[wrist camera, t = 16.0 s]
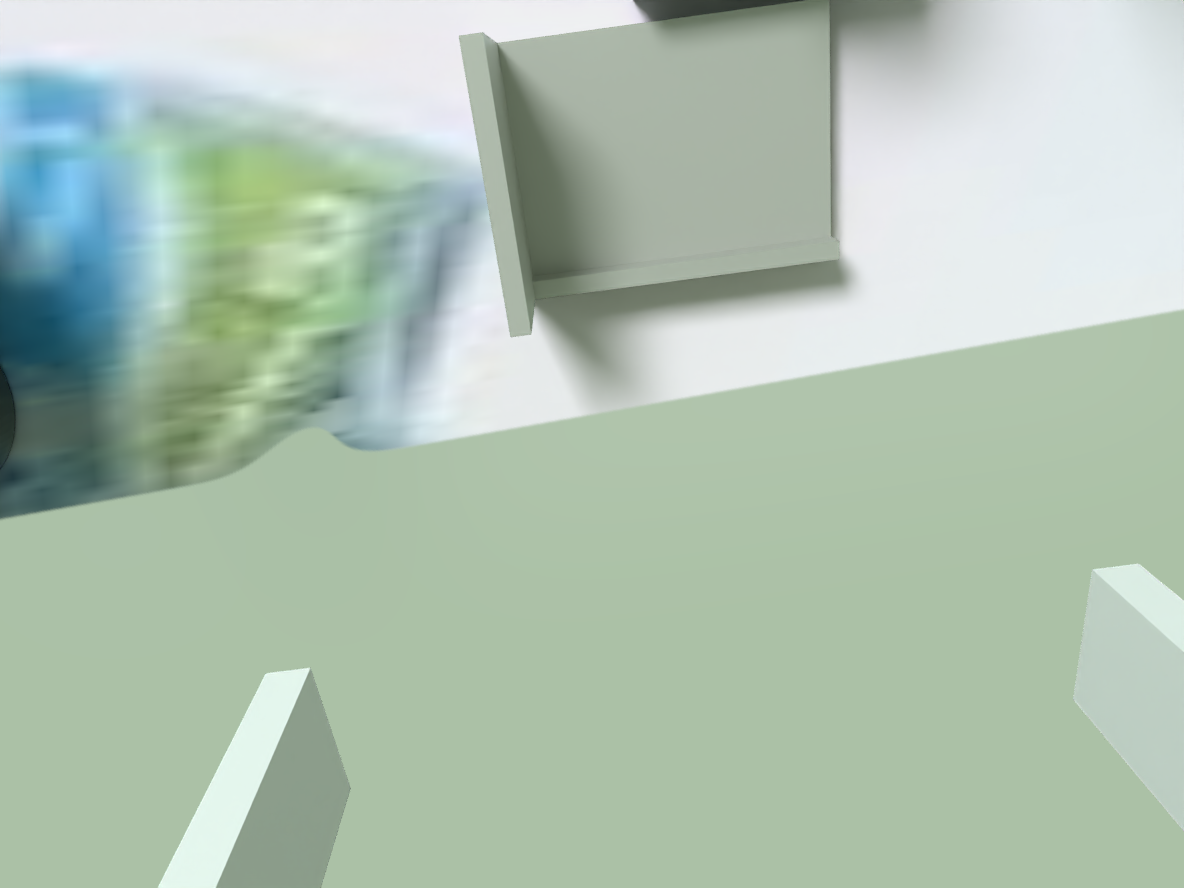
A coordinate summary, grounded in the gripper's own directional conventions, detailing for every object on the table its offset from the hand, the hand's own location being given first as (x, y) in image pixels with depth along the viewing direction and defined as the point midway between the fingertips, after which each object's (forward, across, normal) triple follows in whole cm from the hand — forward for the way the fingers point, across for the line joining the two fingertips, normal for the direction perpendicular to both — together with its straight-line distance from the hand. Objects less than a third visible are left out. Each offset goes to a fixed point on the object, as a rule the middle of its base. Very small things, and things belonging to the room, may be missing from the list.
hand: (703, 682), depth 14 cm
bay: (+37, +4, +5) cm, 37 cm away
